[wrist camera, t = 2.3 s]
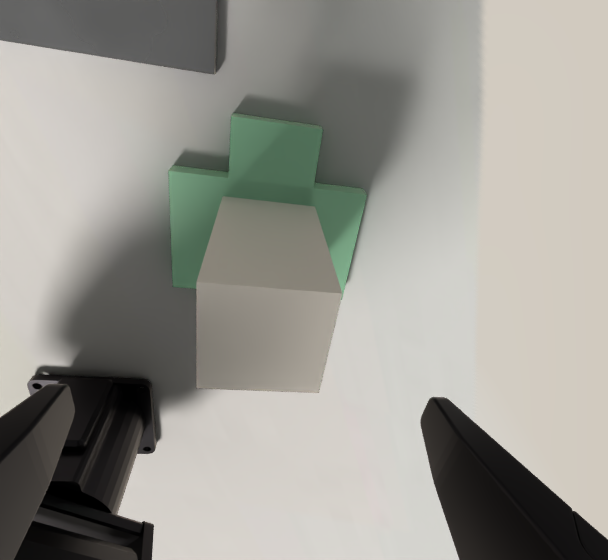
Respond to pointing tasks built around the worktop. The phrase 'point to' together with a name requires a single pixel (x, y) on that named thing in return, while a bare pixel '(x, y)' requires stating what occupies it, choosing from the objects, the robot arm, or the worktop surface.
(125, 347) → the worktop surface
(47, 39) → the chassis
